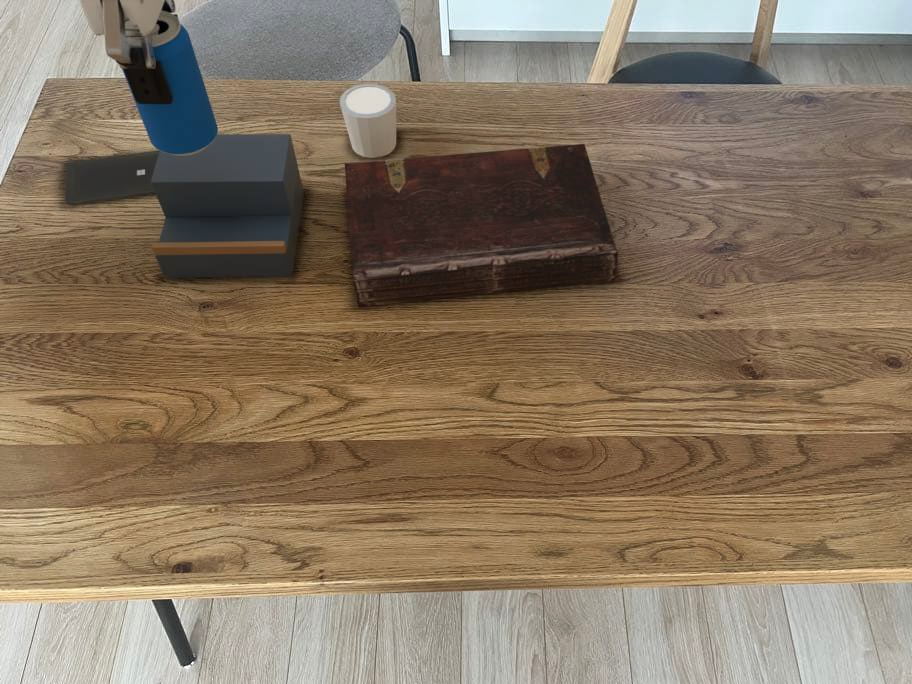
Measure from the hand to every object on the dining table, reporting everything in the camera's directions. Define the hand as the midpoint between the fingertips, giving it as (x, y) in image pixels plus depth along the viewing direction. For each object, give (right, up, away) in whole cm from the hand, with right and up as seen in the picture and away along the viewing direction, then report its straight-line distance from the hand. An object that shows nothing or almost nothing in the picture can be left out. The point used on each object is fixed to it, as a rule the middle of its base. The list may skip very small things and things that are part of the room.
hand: (163, 76), depth 80 cm
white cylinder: (+14, +3, +32) cm, 35 cm away
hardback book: (+28, -11, +23) cm, 37 cm away
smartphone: (-15, -3, +26) cm, 30 cm away
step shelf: (0, -11, +21) cm, 24 cm away
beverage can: (0, -4, +6) cm, 7 cm away
